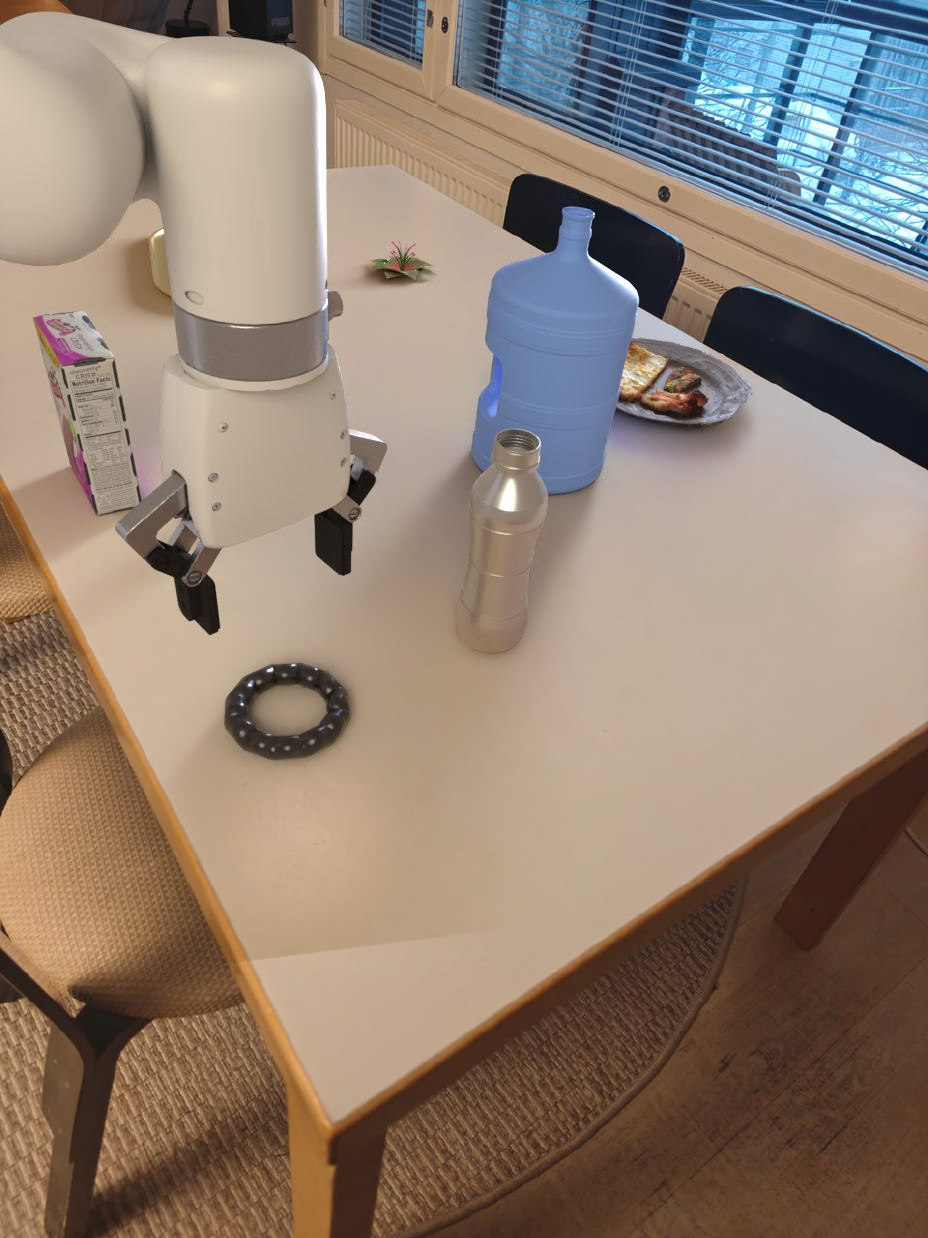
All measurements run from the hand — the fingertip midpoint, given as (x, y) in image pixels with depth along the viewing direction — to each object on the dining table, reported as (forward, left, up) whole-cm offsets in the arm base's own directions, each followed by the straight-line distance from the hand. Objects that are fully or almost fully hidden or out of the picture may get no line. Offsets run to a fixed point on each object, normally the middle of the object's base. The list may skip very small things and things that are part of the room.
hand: (270, 591), depth 55 cm
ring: (+1, +4, -15) cm, 16 cm away
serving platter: (-8, +103, -16) cm, 104 cm away
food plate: (+53, +60, -16) cm, 81 cm away
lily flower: (+23, +104, -16) cm, 108 cm away
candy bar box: (-17, +38, -16) cm, 45 cm away
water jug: (+31, +42, -16) cm, 54 cm away
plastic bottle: (+19, +12, -16) cm, 27 cm away
